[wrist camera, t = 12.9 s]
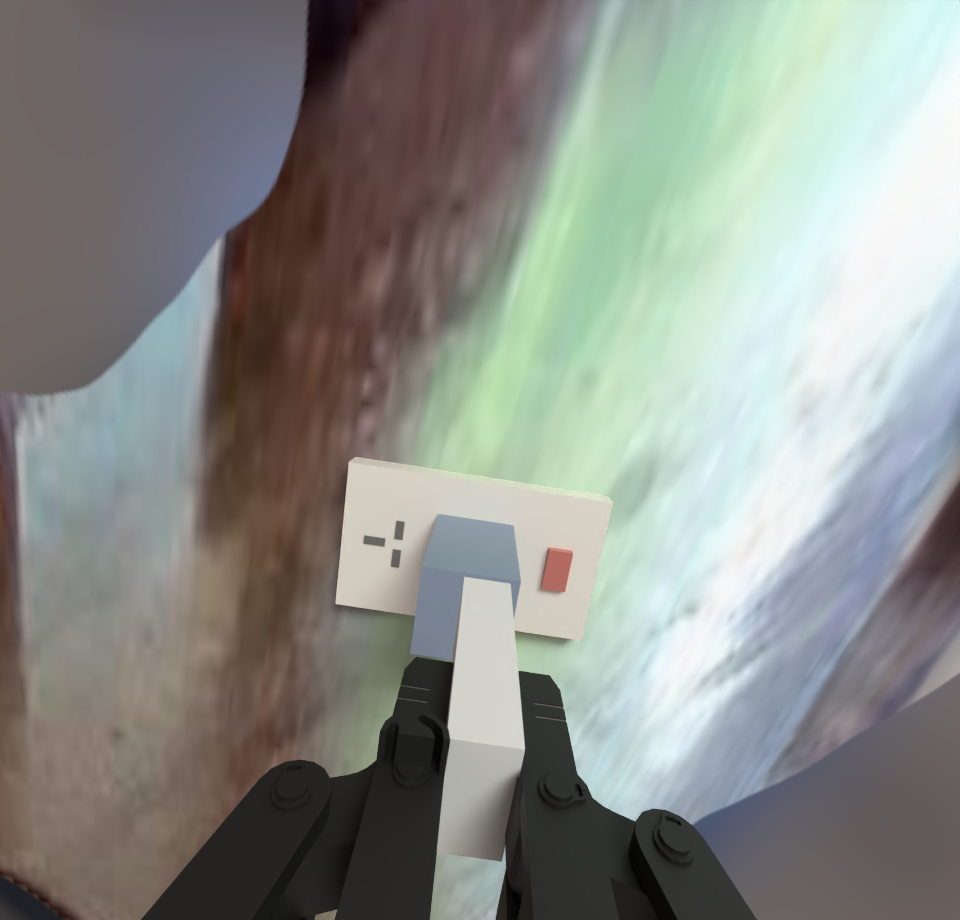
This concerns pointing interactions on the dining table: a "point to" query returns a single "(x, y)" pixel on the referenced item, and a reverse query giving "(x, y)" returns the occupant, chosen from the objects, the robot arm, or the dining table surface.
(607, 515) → the socket plate
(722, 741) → the dining table surface
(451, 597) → the plug
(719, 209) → the dining table surface
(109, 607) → the dining table surface
